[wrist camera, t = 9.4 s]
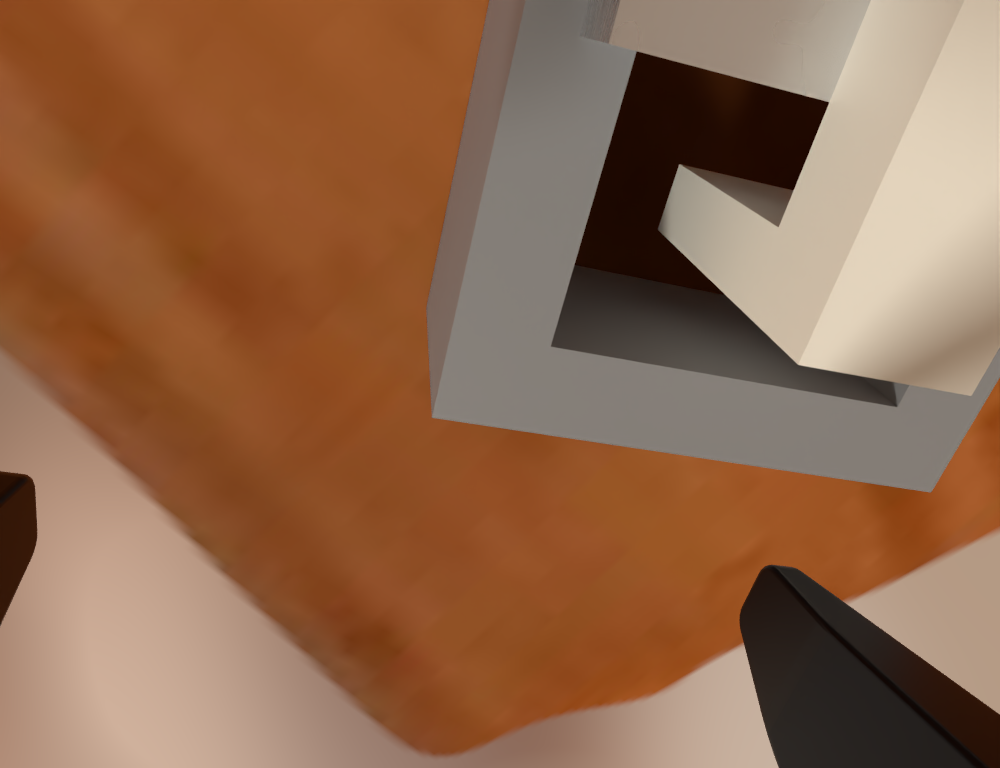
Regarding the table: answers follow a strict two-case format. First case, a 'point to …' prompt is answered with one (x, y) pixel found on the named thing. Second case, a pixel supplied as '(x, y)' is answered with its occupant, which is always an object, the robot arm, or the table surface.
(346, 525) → the table surface
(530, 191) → the frame
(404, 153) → the table surface
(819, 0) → the cross bar
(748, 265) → the cream block
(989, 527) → the table surface
